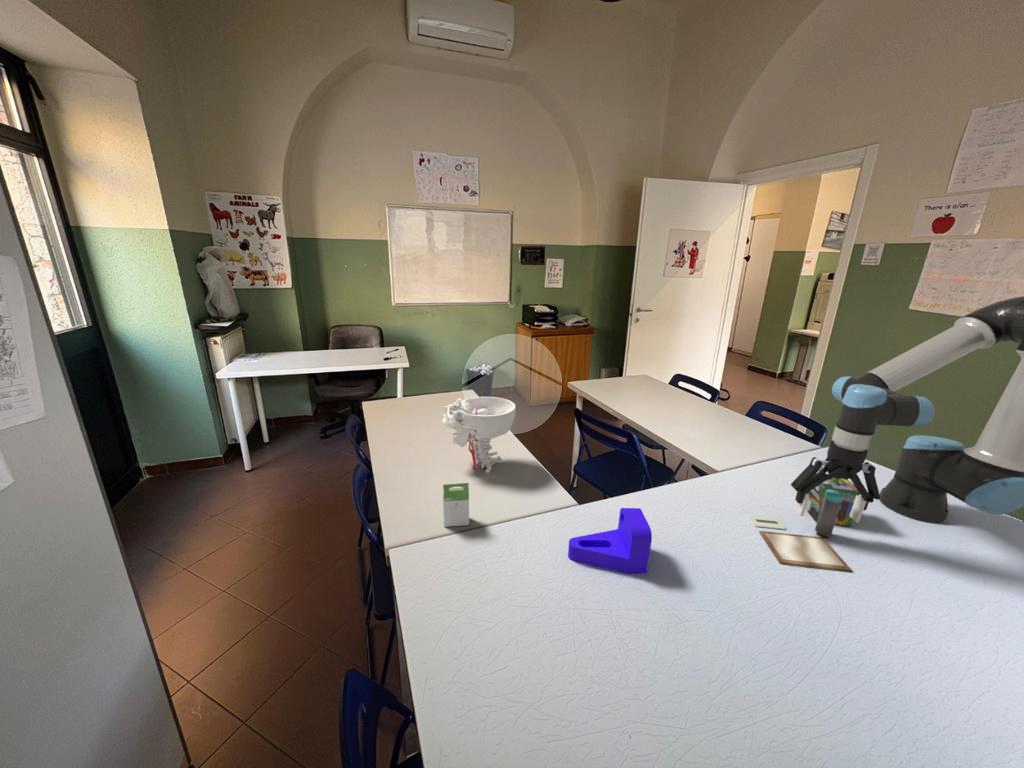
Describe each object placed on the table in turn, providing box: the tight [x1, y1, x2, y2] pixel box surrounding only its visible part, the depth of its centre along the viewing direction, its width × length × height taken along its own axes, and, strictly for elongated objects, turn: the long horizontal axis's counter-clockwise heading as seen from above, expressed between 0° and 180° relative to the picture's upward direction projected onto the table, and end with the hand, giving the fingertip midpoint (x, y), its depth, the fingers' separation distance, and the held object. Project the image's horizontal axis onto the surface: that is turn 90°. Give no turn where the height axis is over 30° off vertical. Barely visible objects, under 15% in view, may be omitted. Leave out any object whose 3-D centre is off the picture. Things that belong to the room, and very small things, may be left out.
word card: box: [747, 514, 787, 531], centre depth 115 cm, size 8×5×1 cm, turn 81°
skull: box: [441, 396, 517, 473], centre depth 139 cm, size 25×19×23 cm
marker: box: [814, 489, 844, 539], centre depth 108 cm, size 4×4×13 cm
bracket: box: [567, 507, 653, 575], centre depth 99 cm, size 18×11×12 cm, turn 90°
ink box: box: [442, 482, 470, 528], centre depth 111 cm, size 7×4×13 cm, turn 97°
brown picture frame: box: [758, 530, 853, 573], centre depth 104 cm, size 16×12×1 cm
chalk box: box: [805, 472, 861, 527], centre depth 117 cm, size 9×9×15 cm
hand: (826, 516), depth 108 cm, fingers open, 13 cm apart
